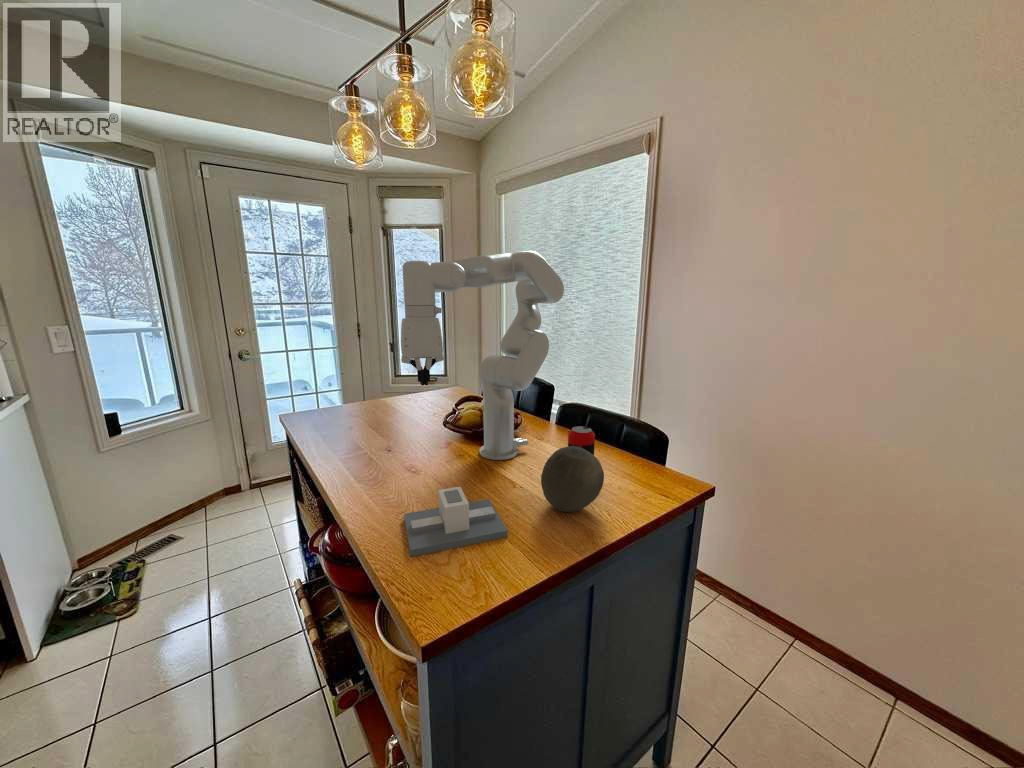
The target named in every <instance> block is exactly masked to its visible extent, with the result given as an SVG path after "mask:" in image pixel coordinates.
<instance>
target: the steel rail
mask: <svg viewBox="0 0 1024 768" xmlns="http://www.w3.org/2000/svg"><path fill="white" fill-rule="evenodd" d="M492 518H495V511H494V510H493V508H492V506H490V507H485V508H479V509H474V510H469V523H471V522H476V521H481V520H487V519H492ZM411 528H412V533H418V532H424V531H429V530H434V529H439V528H444V521H443V518H442V515H440V516H435V517H429V518H424V519H418V520H413V521H411Z"/></svg>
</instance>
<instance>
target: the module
mask: <svg viewBox="0 0 1024 768" xmlns="http://www.w3.org/2000/svg"><path fill="white" fill-rule="evenodd" d="M437 491H438V508H439V515H442V518H443V521H444V530H445V533H446V534H449V533H454V532H459V531H464V530H469V500H468V499H467V497H466V495H465V493H464V491H463V489H462V487H461V486H456V487H448V488H444V489H442V488H441V489H438V490H437Z"/></svg>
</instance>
